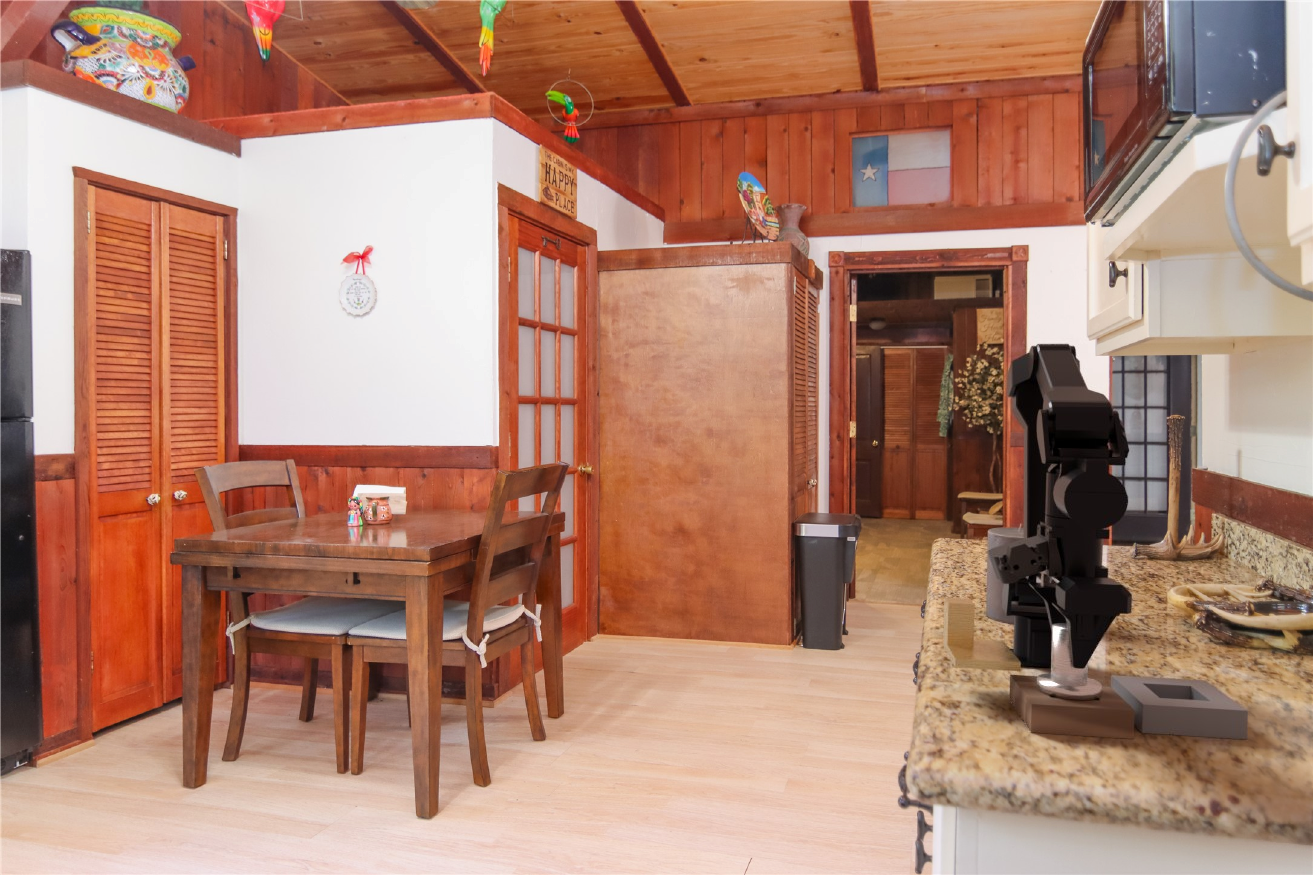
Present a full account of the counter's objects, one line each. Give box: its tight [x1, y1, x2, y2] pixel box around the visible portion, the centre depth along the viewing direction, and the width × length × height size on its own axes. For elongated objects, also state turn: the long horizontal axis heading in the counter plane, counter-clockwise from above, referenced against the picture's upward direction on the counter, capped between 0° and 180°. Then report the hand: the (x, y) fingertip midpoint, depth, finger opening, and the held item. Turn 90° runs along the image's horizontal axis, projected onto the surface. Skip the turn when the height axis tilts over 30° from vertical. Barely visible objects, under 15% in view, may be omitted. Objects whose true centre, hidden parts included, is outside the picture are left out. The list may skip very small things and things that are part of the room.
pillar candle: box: [985, 523, 1024, 625], centre depth 143 cm, size 10×10×15 cm
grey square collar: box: [1110, 674, 1249, 740], centre depth 99 cm, size 10×10×3 cm
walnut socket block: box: [1008, 674, 1135, 740], centre depth 99 cm, size 10×10×3 cm
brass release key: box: [942, 597, 1022, 672], centre depth 106 cm, size 9×7×6 cm
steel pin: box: [1037, 623, 1102, 700], centre depth 98 cm, size 6×6×10 cm
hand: (1069, 659), depth 98 cm, fingers open, 6 cm apart
